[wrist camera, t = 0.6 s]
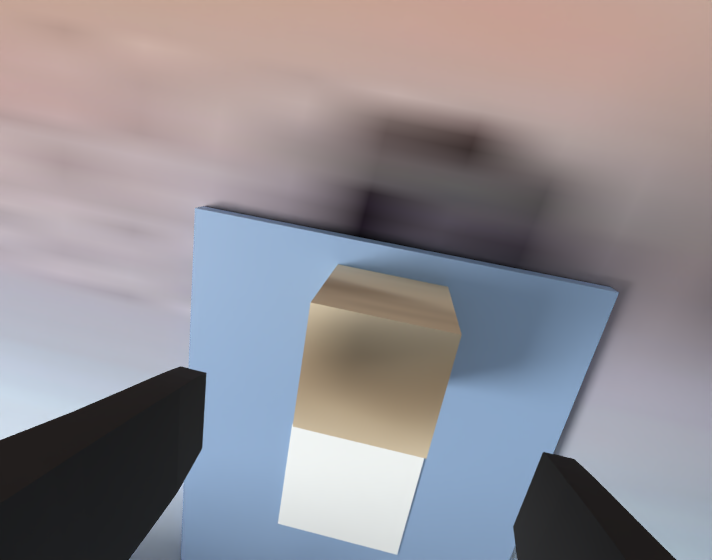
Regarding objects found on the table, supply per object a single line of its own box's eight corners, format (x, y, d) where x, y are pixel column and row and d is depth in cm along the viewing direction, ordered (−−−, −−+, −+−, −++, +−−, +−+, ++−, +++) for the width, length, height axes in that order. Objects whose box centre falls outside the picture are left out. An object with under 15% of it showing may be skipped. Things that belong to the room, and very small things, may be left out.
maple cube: (422, 383, 15) (426, 458, 11) (322, 360, 15) (292, 426, 12) (448, 286, 14) (461, 334, 10) (337, 264, 14) (310, 302, 10)
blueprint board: (454, 677, 20) (455, 694, 20) (184, 600, 22) (177, 614, 21) (610, 286, 14) (620, 293, 13) (203, 206, 15) (193, 208, 14)
